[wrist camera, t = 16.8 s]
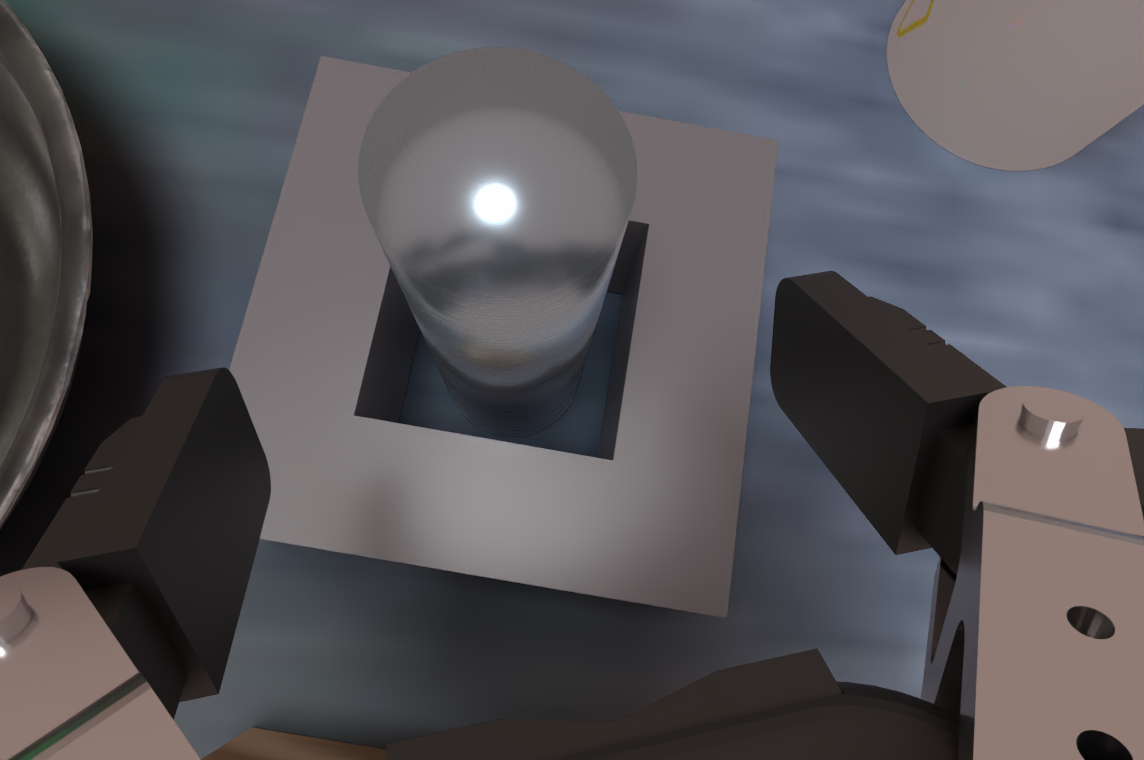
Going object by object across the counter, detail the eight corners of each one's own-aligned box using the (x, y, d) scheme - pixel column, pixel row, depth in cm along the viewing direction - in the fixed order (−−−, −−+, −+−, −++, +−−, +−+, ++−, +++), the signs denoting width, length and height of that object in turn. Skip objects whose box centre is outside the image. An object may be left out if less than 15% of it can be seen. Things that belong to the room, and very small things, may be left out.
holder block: (265, 532, 20) (183, 526, 16) (363, 159, 23) (320, 56, 18) (679, 603, 21) (727, 618, 16) (726, 225, 24) (778, 140, 19)
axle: (434, 424, 21) (327, 270, 10) (461, 299, 22) (392, 25, 11) (566, 447, 22) (615, 321, 10) (587, 322, 23) (655, 73, 11)
